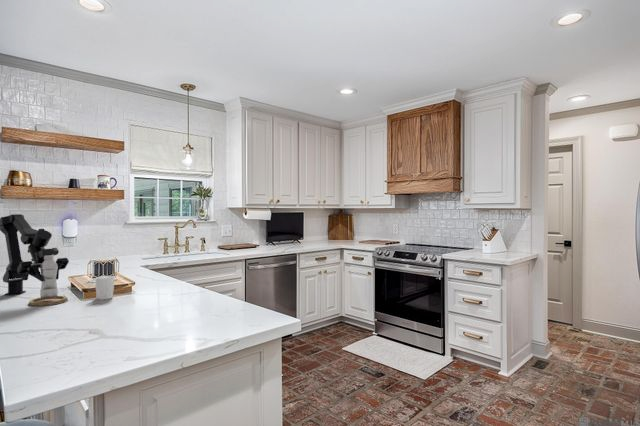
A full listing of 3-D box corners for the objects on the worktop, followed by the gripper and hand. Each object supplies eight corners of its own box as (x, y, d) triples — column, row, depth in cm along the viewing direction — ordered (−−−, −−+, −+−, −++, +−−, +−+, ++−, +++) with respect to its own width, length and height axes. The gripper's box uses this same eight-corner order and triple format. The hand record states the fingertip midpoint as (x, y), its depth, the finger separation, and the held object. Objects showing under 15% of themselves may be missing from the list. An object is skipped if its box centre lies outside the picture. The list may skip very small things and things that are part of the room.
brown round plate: (36, 299, 171) (36, 296, 171) (72, 297, 175) (72, 294, 175) (22, 307, 157) (22, 304, 157) (61, 305, 162) (61, 301, 162)
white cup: (91, 299, 173) (91, 278, 172) (105, 295, 180) (105, 275, 180) (104, 300, 170) (104, 279, 170) (118, 296, 178) (118, 276, 178)
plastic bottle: (46, 296, 170) (46, 253, 169) (61, 297, 170) (61, 253, 169) (36, 300, 163) (35, 255, 163) (51, 300, 163) (51, 256, 163)
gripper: (20, 243, 160) (31, 271, 155) (67, 240, 176) (79, 266, 171) (12, 260, 164) (23, 287, 159) (58, 255, 180) (70, 280, 175)
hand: (50, 279), depth 166 cm, fingers closed on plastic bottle, 6 cm apart
